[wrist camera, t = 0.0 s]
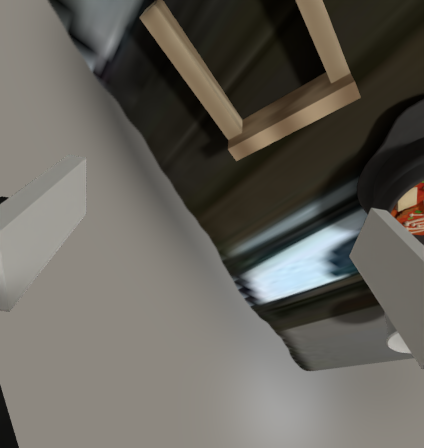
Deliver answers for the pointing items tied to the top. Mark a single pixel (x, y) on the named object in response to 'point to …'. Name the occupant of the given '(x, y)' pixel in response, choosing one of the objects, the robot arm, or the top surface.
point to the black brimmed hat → (398, 172)
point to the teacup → (395, 338)
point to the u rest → (275, 112)
